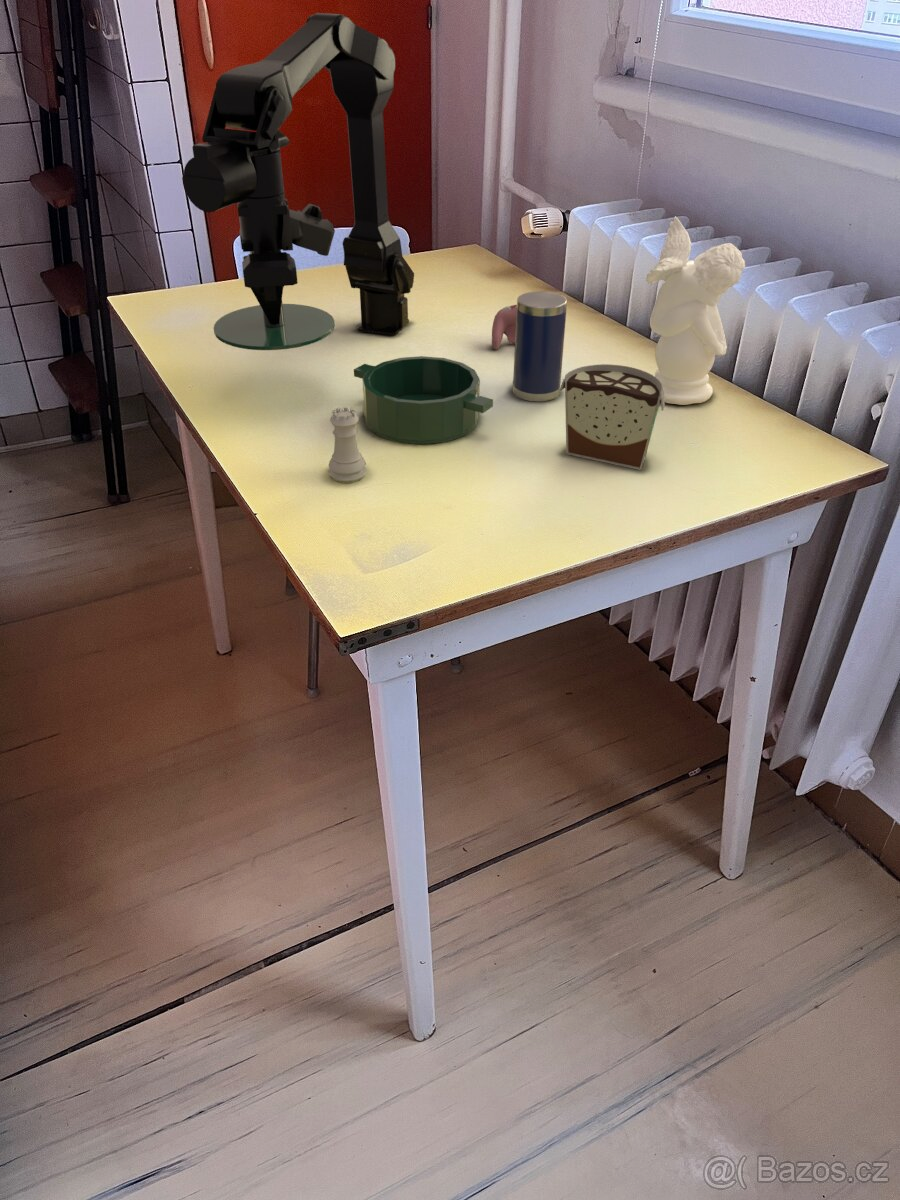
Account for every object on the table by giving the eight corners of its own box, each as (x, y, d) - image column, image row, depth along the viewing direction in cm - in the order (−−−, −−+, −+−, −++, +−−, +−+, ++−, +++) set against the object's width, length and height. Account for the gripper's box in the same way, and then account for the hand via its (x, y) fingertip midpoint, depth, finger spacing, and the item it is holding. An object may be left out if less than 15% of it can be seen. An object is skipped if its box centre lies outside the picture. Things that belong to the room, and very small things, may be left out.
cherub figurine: (731, 401, 126) (764, 232, 113) (658, 421, 121) (684, 246, 108) (672, 370, 135) (696, 209, 121) (602, 387, 130) (620, 222, 117)
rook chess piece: (337, 487, 107) (332, 423, 102) (323, 470, 110) (317, 407, 105) (373, 478, 108) (370, 415, 104) (358, 462, 112) (354, 400, 107)
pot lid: (280, 364, 114) (275, 319, 110) (189, 338, 121) (181, 294, 117) (359, 326, 124) (356, 284, 121) (271, 303, 131) (266, 263, 128)
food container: (666, 450, 115) (679, 373, 109) (653, 472, 110) (665, 393, 104) (571, 431, 119) (578, 355, 113) (554, 451, 114) (561, 374, 108)
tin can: (507, 398, 127) (511, 304, 119) (519, 379, 132) (524, 288, 124) (553, 404, 125) (560, 310, 117) (564, 386, 130) (572, 294, 122)
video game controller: (555, 354, 143) (559, 306, 142) (556, 351, 139) (559, 302, 138) (491, 351, 144) (494, 304, 143) (490, 348, 139) (493, 300, 138)
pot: (455, 461, 112) (455, 418, 109) (326, 419, 121) (323, 379, 118) (516, 417, 122) (518, 377, 119) (393, 382, 131) (391, 344, 128)
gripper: (335, 209, 106) (344, 342, 115) (320, 172, 121) (329, 292, 130) (235, 214, 104) (252, 348, 114) (232, 175, 119) (248, 297, 128)
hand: (274, 320), depth 121 cm, fingers closed on pot lid, 2 cm apart
